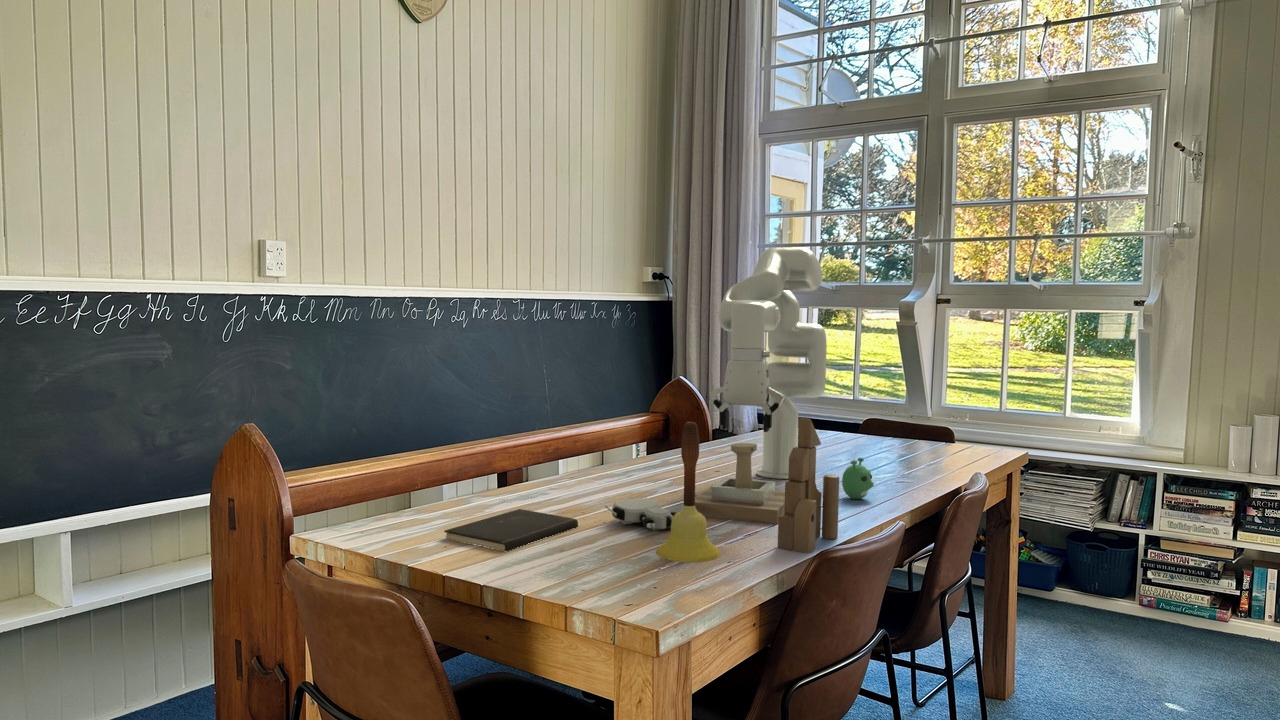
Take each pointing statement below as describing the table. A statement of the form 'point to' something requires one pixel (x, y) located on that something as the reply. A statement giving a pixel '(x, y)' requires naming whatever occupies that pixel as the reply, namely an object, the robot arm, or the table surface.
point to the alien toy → (857, 480)
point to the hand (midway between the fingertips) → (745, 429)
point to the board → (741, 508)
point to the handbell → (689, 512)
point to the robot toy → (642, 513)
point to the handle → (743, 464)
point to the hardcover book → (511, 529)
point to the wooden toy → (807, 497)
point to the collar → (743, 491)
